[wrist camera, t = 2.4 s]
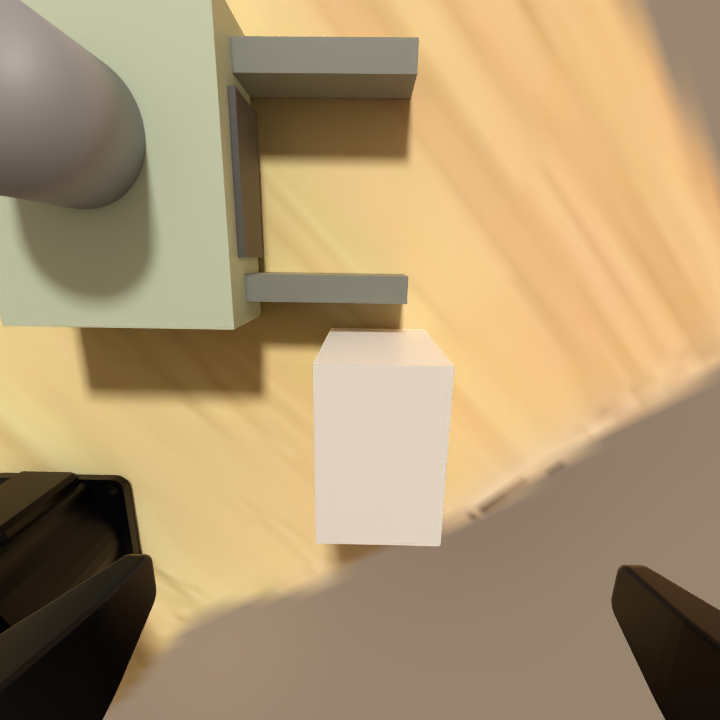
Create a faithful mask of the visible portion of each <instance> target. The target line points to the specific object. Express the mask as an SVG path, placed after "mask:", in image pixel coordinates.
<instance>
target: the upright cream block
mask: <svg viewBox="0 0 720 720" xmlns="http://www.w3.org/2000/svg"><path fill="white" fill-rule="evenodd" d="M453 378H454V365H453V364H452V363H451V362H450V360H449V359H448V358H447V357H446V356H445V354H444V353H443V352H442V351H441V349H440V348H439V347H438V346H437V345H436V343H435V342H434V341H433V340H432V338H431V337H430V336H429V335H428V334H427V332H426V331H425V330H424V329H376V328H331V329H330V331H329V333H328V335H327V337H326V339H325V341H324V343H323V345H322V347H321V349H320V351H319V353H318V355H317V357H316V359H315V361H314V363H313V396H314V454H315V512H316V543H322V544H365V545H409V546H440V543H441V531H442V518H443V505H444V493H445V480H446V467H447V455H448V442H449V429H450V416H451V404H452V391H453Z"/></svg>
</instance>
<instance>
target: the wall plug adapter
mask: <svg viewBox="0 0 720 720" xmlns="http://www.w3.org/2000/svg"><path fill="white" fill-rule="evenodd" d="M418 44H419V38H400V37H262V36H244V34H243V32H242V30H241V28H240V27H239V25H238V23H237V21H236V19H235V18H234V16H233V14H232V12H231V10H230V8H229V7H228V5H227V3H226V1H225V0H0V317H1V321H2V326H44V327H103V328H161V329H220V330H235V329H236V328H238V327H240V326H242V325H244V324H246V323H248V322H249V321H251V320H253V319H255V318H257V317H259V316H261V302H311V303H372V304H407V290H408V276H406V275H403V274H346V273H280V272H259V262H258V257H263V246H262V225H261V204H260V183H259V162H258V141H257V120H256V113H255V111H254V110H253V109H252V107H251V104H250V97H275V98H382V99H410V98H411V95H412V91H413V87H414V84H415V80H416V76H417V66H418Z"/></svg>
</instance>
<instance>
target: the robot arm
mask: <svg viewBox="0 0 720 720" xmlns="http://www.w3.org/2000/svg"><path fill="white" fill-rule="evenodd" d="M113 485H115V486H116V487H117V488H118V489H116V488H115V487H114V486H113ZM155 597H156V583H155V576H154V569H153V562H152V558H151V557H150V556H149V555H146V554H139V549H138V543H137V536H136V530H135V524H134V517H133V511H132V504H131V498H130V491H129V485H128V482H127V481H126V479H125V478H123V477H121V476H117V475H78V474H75V473H71V472H27V471H23V472H20V473H0V720H102V719H103V717H104V716H105V714H106V712H107V710H108V708H109V706H110V704H111V702H112V700H113V698H114V696H115V693H116V691H117V689H118V687H119V684H120V682H121V680H122V678H123V675H124V673H125V671H126V668H127V666H128V663H129V661H130V659H131V656H132V654H133V651H134V649H135V647H136V644H137V642H138V640H139V637H140V635H141V632H142V630H143V628H144V625H145V623H146V621H147V618H148V616H149V613H150V611H151V609H152V606H153V604H154V601H155ZM612 609H613V612H614V614H615V617H616V619H617V621H618V623H619V625H620V627H621V629H622V631H623V634H624V636H625V638H626V640H627V642H628V644H629V646H630V648H631V651H632V653H633V655H634V657H635V659H636V661H637V663H638V665H639V667H640V670H641V672H642V674H643V676H644V678H645V680H646V682H647V684H648V686H649V689H650V691H651V693H652V695H653V697H654V699H655V701H656V703H657V705H658V707H659V709H660V710H661V712H662V714H663V716H664V718H665V720H720V610H718V609H717V608H715V607H713V606H712V605H709V604H708V603H706V602H705V601H703V600H701V599H699V598H698V597H696V596H695V595H693V594H691V593H690V592H688V591H686V590H684V589H683V588H681V587H680V586H678V585H676V584H675V583H673V582H671V581H669V580H668V579H666V578H665V577H663V576H661V575H660V574H658V573H656V572H655V571H653V570H651V569H649V568H648V567H646V566H642V565H622V566H620V567H619V569H618V571H617V575H616V580H615V585H614V589H613V594H612Z"/></svg>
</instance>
